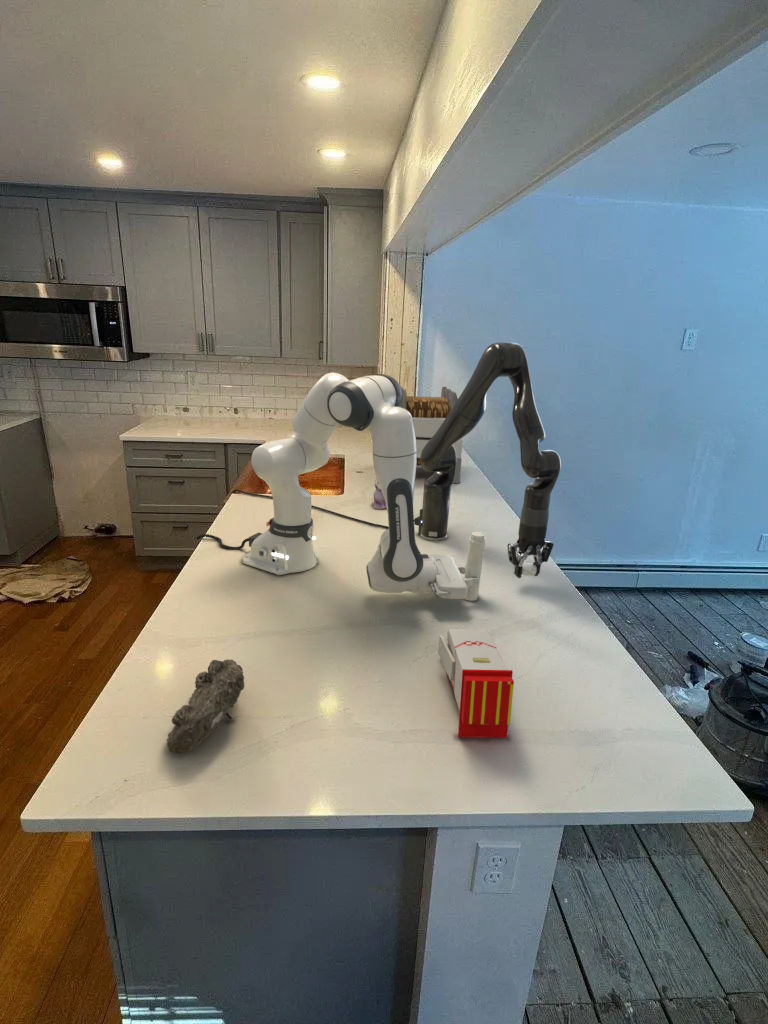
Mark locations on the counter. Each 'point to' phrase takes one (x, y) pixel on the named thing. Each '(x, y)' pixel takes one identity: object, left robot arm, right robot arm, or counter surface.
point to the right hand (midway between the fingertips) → (526, 575)
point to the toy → (478, 682)
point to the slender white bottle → (474, 562)
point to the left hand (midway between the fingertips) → (475, 575)
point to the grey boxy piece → (431, 420)
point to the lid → (529, 569)
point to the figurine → (378, 497)
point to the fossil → (206, 705)
